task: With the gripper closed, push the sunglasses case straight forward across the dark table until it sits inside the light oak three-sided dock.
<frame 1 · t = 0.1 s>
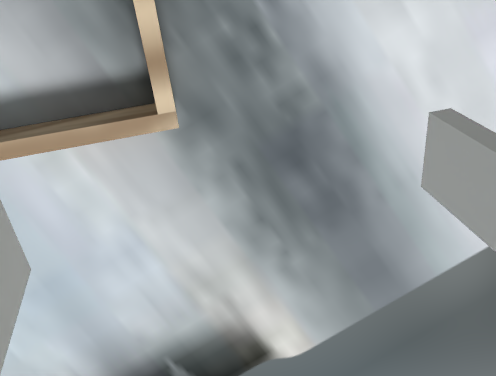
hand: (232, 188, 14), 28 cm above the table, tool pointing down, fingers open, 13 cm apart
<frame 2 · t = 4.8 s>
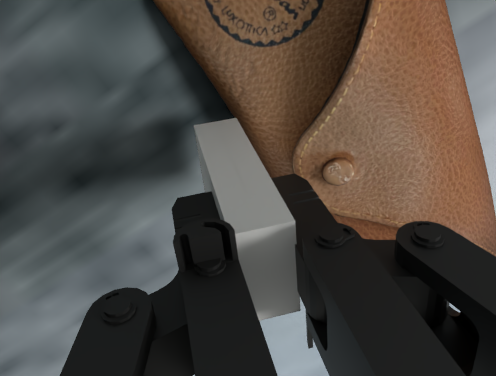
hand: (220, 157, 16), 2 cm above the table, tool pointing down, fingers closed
sunglasses case: (337, 116, 19), on the table, touching gripper
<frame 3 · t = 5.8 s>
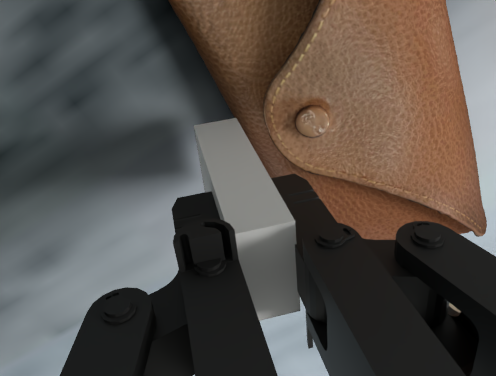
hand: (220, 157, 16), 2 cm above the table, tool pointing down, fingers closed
sunglasses case: (316, 72, 18), on the table, touching gripper
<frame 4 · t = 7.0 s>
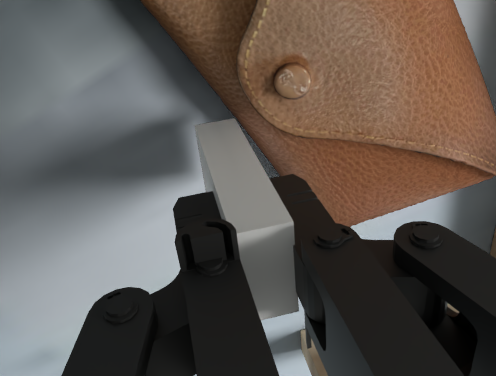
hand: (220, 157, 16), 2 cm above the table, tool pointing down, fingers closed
sunglasses case: (298, 28, 16), on the table, touching gripper
dock: (413, 91, 18), on the table
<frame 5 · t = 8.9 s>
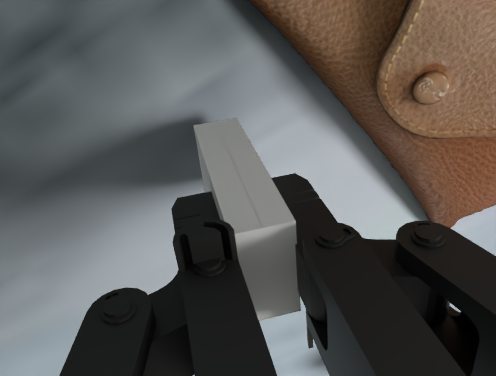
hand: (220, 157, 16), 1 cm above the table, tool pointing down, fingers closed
sunglasses case: (412, 33, 17), on the table
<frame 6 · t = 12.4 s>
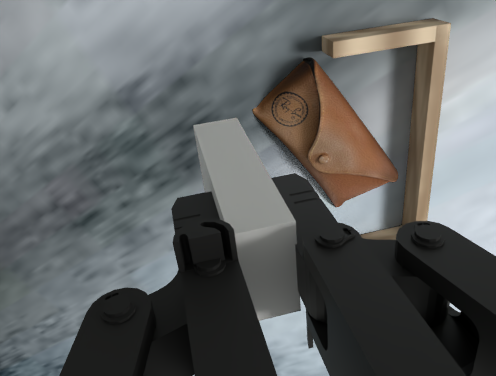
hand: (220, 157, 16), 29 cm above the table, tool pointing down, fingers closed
sunglasses case: (323, 137, 51), on the table
dock: (367, 149, 52), on the table
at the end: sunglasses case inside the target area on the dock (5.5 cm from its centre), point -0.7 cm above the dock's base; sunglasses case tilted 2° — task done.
